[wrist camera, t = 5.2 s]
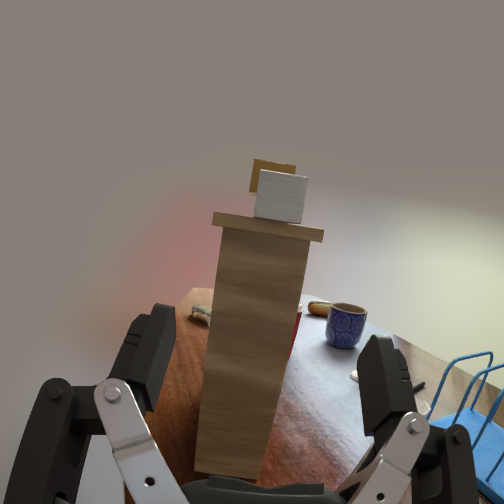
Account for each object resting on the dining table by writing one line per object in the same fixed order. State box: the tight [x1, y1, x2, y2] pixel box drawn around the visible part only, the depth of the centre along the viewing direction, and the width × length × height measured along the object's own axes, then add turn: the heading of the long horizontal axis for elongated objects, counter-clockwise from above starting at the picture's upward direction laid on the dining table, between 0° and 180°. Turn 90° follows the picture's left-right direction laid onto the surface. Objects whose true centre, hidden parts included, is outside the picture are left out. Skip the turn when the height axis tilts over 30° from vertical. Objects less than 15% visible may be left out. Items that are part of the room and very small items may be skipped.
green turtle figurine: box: [190, 305, 212, 328], centre depth 90 cm, size 9×11×5 cm
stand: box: [194, 212, 324, 480], centre depth 42 cm, size 25×10×31 cm, turn 0°
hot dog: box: [308, 301, 332, 316], centre depth 115 cm, size 5×13×5 cm, turn 95°
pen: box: [413, 382, 426, 392], centre depth 58 cm, size 1×16×1 cm, turn 123°
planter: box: [325, 303, 367, 349], centre depth 86 cm, size 11×11×11 cm
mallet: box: [249, 159, 308, 224], centre depth 30 cm, size 22×5×7 cm, turn 0°
